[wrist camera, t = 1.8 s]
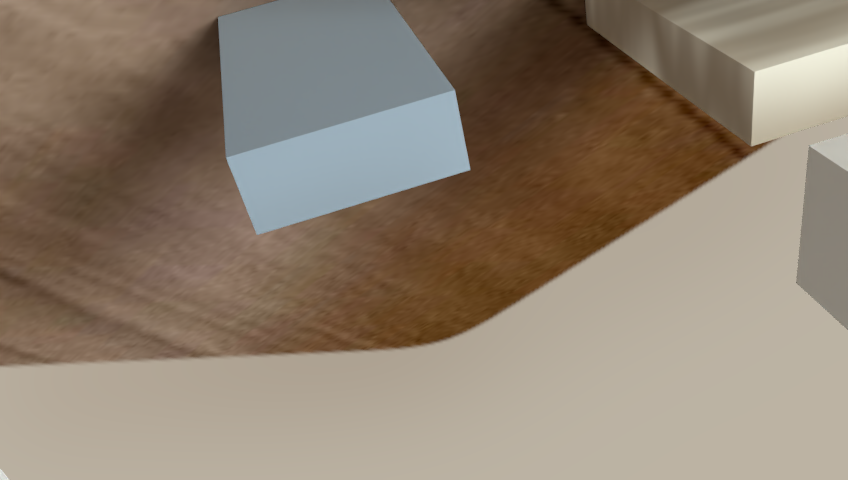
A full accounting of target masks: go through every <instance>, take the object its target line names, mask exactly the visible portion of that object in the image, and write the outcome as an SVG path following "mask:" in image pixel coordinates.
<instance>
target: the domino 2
mask: <svg viewBox="0 0 848 480" xmlns="http://www.w3.org/2000/svg"><path fill="white" fill-rule="evenodd" d="M585 7H586V19H587V25H588V26H589V27H591V28H592V29H593V30H595V31H596V32H597V33H599V34H600V35H601V36H603V37H604V38H606V39H607V40H608V41H610V42H611V43H612V44H614V45H615V46H616V47H618V48H619V49H620V50H622V51H623V52H624V53H626V54H627V55H628V56H630V57H631V58H633V59H634V60H635V61H637V62H638V63H639V64H641V65H642V66H643V67H645V68H646V69H647V70H649V71H650V72H651V73H653V74H654V75H655V76H657V77H658V78H660V79H661V80H662V81H664V82H665V83H666V84H668V85H669V86H670V87H672V88H673V89H674V90H676V91H677V92H678V93H680V94H681V95H682V96H684V97H685V98H687V99H688V100H689V101H691V102H692V103H693V104H695V105H696V106H697V107H699V108H700V109H701V110H703V111H704V112H705V113H707V114H708V115H709V116H711V117H712V118H714V119H715V120H716V121H718V122H719V123H720V124H722V125H723V126H724V127H726V128H727V129H728V130H730V131H731V132H732V133H734V134H735V135H736V136H738V137H739V138H741V139H742V140H743V141H745V142H746V143H747V144H749V145H750V146H754V145H757V144H760V143H764V142H767V141H770V140H773V139H776V138H780V137H783V136H786V135H789V134H792V133H796V132H799V131H802V130H805V129H808V128H811V127H815V126H818V125H821V124H824V123H828V122H831V121H834V120H837V119H840V118H844V117H847V116H848V0H585Z"/></svg>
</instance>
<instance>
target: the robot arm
mask: <svg viewBox="0 0 848 480" xmlns="http://www.w3.org/2000/svg"><path fill="white" fill-rule="evenodd" d="M796 283H797V284H798V285H799V286H800V287H801V288H803V289H804V290H805V291H806V292H807V293H808V294H809V295H810V296H811V297H812V298H814V299H815V300H816V301H817V302H818V303H819V304H820V305H821V306H822V307H823V308H824V309H825V310H827V311H828V312H829V313H830V314H831V315H832V316H833V317H834V318H835V319H836V320H837V321H839V322H840V323H841V324H842V325H843V326H844V327H845V328H846V329H847V330H848V134H844V135H842V136H839V137H835V138H832V139H829V140H825V141H822V142H819V143H816V144H813V145H810V146H809V150H808V161H807V172H806V183H805V195H804V205H803V216H802V227H801V238H800V249H799V260H798V270H797V282H796ZM0 480H9V479H8V477H7V476H6V475H5V474H4V473H3V471H2V470H1V469H0Z"/></svg>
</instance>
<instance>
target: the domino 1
mask: <svg viewBox="0 0 848 480" xmlns="http://www.w3.org/2000/svg"><path fill="white" fill-rule="evenodd" d="M218 27H219V44H220V62H221V79H222V97H223V115H224V132H225V150H226V159H227V162H228V164H229V167H230V169H231V171H232V174H233V176H234V179H235V181H236V184H237V186H238V189H239V191H240V194H241V196H242V199H243V201H244V204H245V206H246V209H247V211H248V214H249V216H250V219H251V221H252V224H253V226H254V229H255V231H256V234H257V235H259V234H262V233H265V232H269V231H272V230H275V229H278V228H282V227H285V226H288V225H292V224H295V223H298V222H301V221H305V220H308V219H311V218H314V217H318V216H321V215H324V214H328V213H331V212H334V211H337V210H341V209H344V208H347V207H350V206H354V205H357V204H360V203H364V202H367V201H370V200H373V199H377V198H380V197H383V196H387V195H390V194H393V193H396V192H400V191H403V190H406V189H409V188H413V187H416V186H419V185H423V184H426V183H429V182H432V181H436V180H439V179H442V178H445V177H449V176H452V175H455V174H459V173H462V172H465V171H468V170H470V165H469V160H468V155H467V150H466V144H465V139H464V134H463V129H462V124H461V119H460V114H459V109H458V103H457V98H456V93H455V89H454V88H453V87H452V85H451V84H450V83H449V81H448V80H447V78H446V77H445V76H444V74H443V73H442V71H441V70H440V69H439V67H438V66H437V65H436V63H435V62H434V60H433V59H432V58H431V56H430V55H429V53H428V52H427V51H426V49H425V48H424V47H423V45H422V44H421V42H420V41H419V40H418V38H417V37H416V36H415V34H414V33H413V31H412V30H411V29H410V27H409V26H408V24H407V23H406V22H405V20H404V19H403V18H402V16H401V15H400V13H399V12H398V11H397V9H396V8H395V6H394V5H393V4H392V2H391V1H390V0H277V1H274V2H270V3H267V4H263V5H259V6H256V7H252V8H249V9H245V10H242V11H238V12H234V13H231V14H227V15H224V16H220V17H218Z"/></svg>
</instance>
